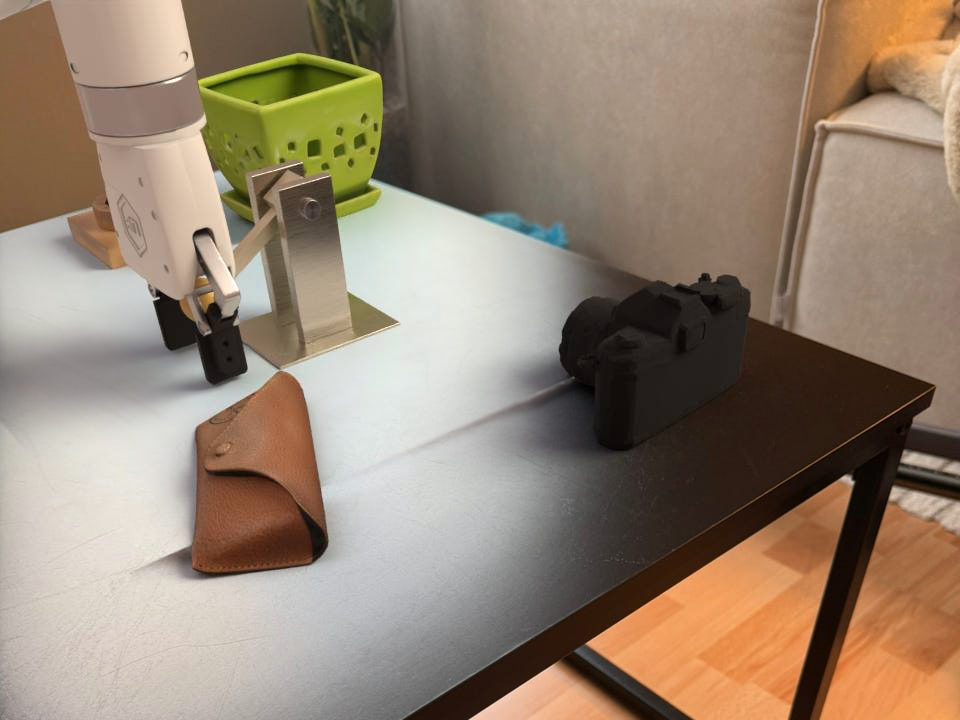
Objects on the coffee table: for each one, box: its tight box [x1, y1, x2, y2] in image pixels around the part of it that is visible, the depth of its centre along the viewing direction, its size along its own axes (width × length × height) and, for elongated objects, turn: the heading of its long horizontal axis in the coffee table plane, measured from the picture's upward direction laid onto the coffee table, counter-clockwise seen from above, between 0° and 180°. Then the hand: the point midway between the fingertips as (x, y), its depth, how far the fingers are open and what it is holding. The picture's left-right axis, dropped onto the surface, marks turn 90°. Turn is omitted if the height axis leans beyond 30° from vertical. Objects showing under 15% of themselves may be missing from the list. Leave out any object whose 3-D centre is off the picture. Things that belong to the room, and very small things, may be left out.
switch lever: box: [179, 170, 303, 322], centre depth 74 cm, size 13×3×3 cm
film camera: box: [558, 272, 752, 450], centre depth 70 cm, size 15×10×9 cm, turn 133°
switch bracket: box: [239, 159, 401, 371], centre depth 78 cm, size 11×9×13 cm
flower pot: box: [198, 52, 384, 224], centre depth 97 cm, size 14×14×13 cm
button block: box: [66, 192, 128, 270], centre depth 98 cm, size 10×10×4 cm
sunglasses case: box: [190, 370, 330, 575], centre depth 65 cm, size 18×7×7 cm
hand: (206, 358), depth 77 cm, fingers open, 6 cm apart
